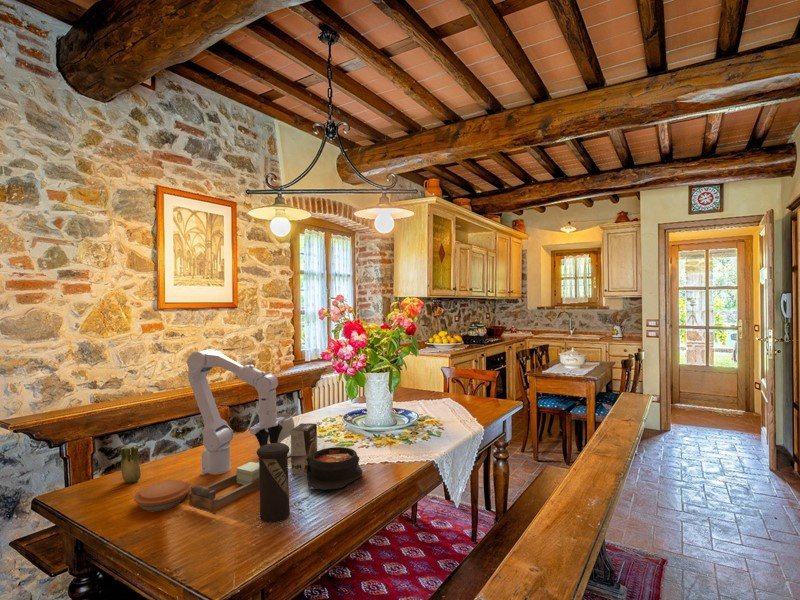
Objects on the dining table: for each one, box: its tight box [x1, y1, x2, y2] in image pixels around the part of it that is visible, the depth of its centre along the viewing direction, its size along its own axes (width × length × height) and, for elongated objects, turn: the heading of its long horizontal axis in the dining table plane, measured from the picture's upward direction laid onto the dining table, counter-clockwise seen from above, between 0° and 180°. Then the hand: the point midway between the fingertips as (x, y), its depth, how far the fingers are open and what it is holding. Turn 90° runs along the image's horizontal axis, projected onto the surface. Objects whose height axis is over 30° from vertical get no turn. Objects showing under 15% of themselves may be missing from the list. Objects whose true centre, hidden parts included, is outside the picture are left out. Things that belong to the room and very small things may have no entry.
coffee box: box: [290, 422, 318, 476], centre depth 157 cm, size 9×6×16 cm
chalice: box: [258, 412, 296, 458], centre depth 174 cm, size 14×14×15 cm
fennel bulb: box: [120, 445, 142, 484], centre depth 152 cm, size 6×5×12 cm
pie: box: [133, 479, 192, 512], centre depth 136 cm, size 15×16×5 cm
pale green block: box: [235, 461, 260, 486], centre depth 147 cm, size 7×6×5 cm
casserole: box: [306, 446, 363, 491], centre depth 150 cm, size 25×19×8 cm
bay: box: [188, 473, 260, 515], centre depth 140 cm, size 11×25×6 cm, turn 151°
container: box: [256, 442, 291, 524], centre depth 126 cm, size 9×9×20 cm
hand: (268, 448), depth 154 cm, fingers open, 4 cm apart
